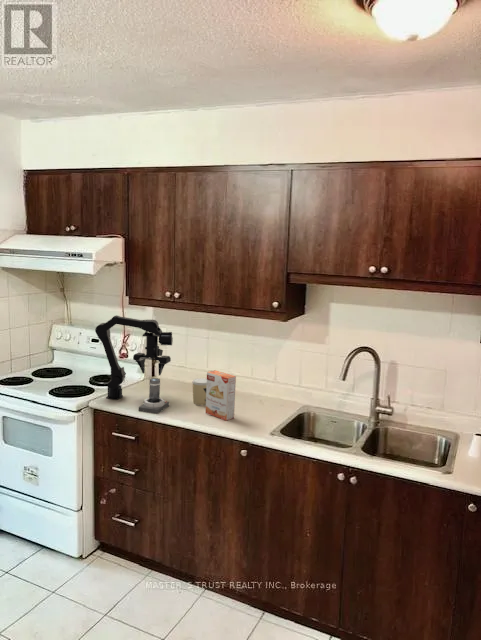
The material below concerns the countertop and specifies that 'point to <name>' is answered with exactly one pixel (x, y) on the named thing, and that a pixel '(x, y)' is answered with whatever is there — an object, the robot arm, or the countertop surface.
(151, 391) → the lens
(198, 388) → the coffee cup
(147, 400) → the camera body
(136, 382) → the countertop surface
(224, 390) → the cracker box
